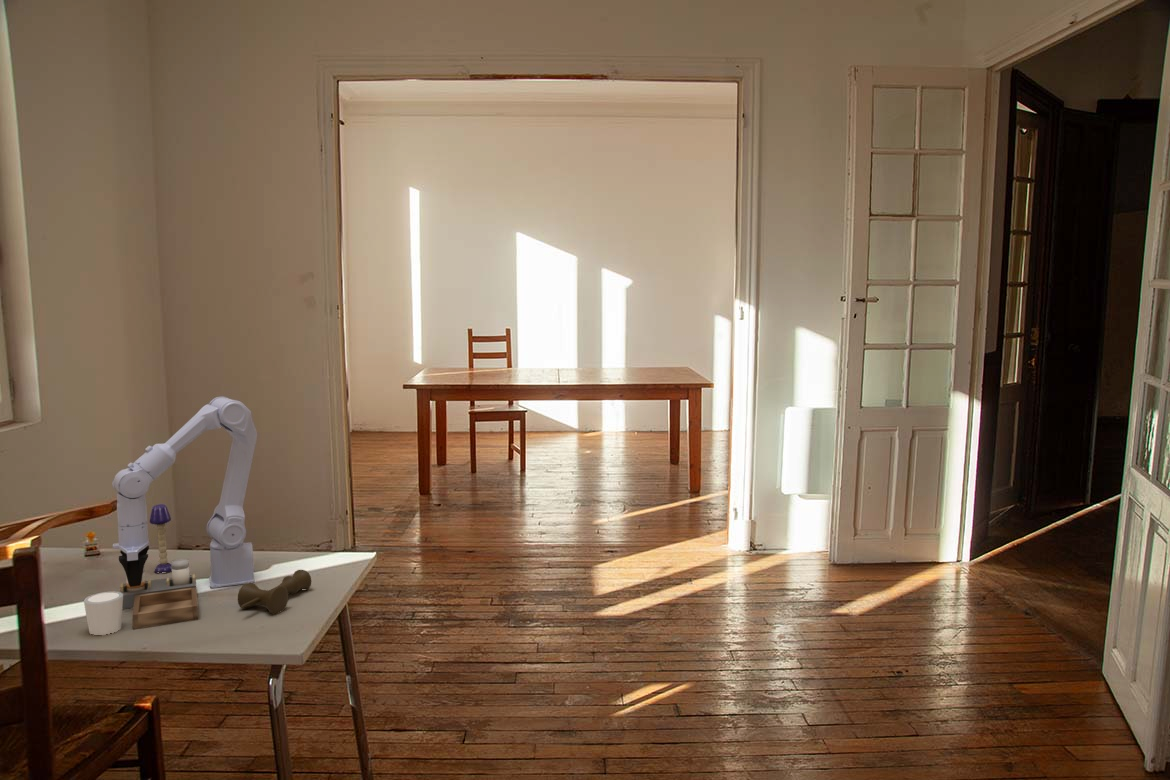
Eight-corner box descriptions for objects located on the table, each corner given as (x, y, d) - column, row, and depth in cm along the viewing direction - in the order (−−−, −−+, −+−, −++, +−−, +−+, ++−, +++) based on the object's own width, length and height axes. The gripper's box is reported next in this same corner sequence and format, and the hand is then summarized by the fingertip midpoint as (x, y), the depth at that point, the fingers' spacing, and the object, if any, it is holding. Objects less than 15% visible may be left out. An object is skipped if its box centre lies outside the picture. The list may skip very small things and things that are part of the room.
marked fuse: (146, 596, 181) (144, 562, 180) (145, 602, 178) (144, 567, 177) (127, 599, 180) (125, 564, 179) (126, 604, 176) (124, 569, 175)
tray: (196, 599, 180) (196, 587, 179) (198, 619, 169) (197, 605, 169) (135, 608, 174) (134, 595, 174) (133, 629, 164) (132, 615, 163)
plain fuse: (190, 590, 185) (188, 557, 184) (190, 596, 182) (189, 562, 181) (172, 593, 184) (171, 559, 183) (172, 598, 180) (171, 564, 180)
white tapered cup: (96, 639, 159) (94, 605, 158) (79, 631, 162) (76, 598, 161) (131, 628, 164) (130, 595, 164) (113, 620, 168) (111, 588, 167)
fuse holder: (195, 586, 188) (195, 570, 187) (196, 598, 181) (195, 581, 180) (122, 596, 181) (121, 579, 180) (120, 609, 174) (119, 591, 173)
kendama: (321, 593, 186) (260, 623, 168) (287, 589, 190) (223, 618, 171) (320, 568, 186) (259, 595, 167) (287, 564, 189) (222, 590, 170)
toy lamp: (167, 574, 195) (164, 508, 193) (148, 574, 195) (145, 507, 194) (177, 568, 200) (174, 503, 198) (158, 567, 200) (155, 502, 198)
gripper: (113, 516, 181) (116, 574, 183) (109, 534, 168) (112, 596, 170) (149, 513, 184) (152, 570, 186) (147, 530, 172) (150, 591, 173)
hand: (135, 582), depth 178 cm, fingers closed on marked fuse, 4 cm apart
